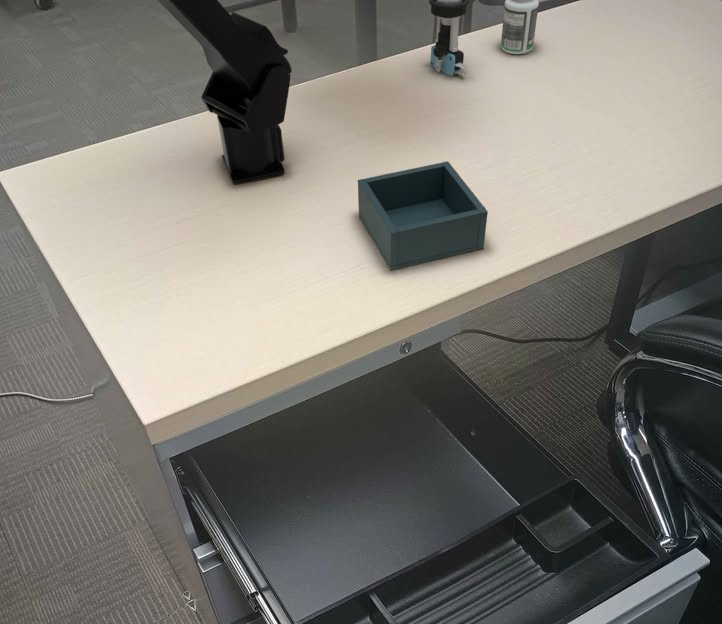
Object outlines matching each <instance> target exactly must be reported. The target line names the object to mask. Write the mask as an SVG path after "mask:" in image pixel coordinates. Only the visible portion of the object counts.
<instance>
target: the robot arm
mask: <svg viewBox="0 0 722 624" xmlns="http://www.w3.org/2000/svg"><path fill="white" fill-rule="evenodd" d="M157 1H158V3H160V4H161V6H162V7H164V8H165V9H166V11H167V12H168V13H170V15H172V17H173V18H174V19H175V20H176V21H177V22H178V23H179V24H180V25H181V26H182V27H183V28H184V29H185V30H186V31H187V32H188V33H189V34H190V35H191V36H192V37H193V38H194V40H196V42H197V43H198V44H199V45H200V46H201V48H202V49H203V53H204V56H205V59H206V63H207V65H208V66H209V68H210V69H211V70H212V72H211V75H210V77H209V79H208V81H207V84H206V85H205V88H204V89H203V92H202V94H201V100H202V102H203V104H204V106H205V108H206V109H207V111H208V112H209V113H211V114H215V115H216V118H217V123H218V130H219V136H220V141H221V145H222V151H223V152H222V153H223V154H222V155H221V159H222V162H223V165H224V167H225V169H226V171H227V174H228V176H229V178H230V181H231V183H232V184H234V185H237V184H243V183H248V182H252V181H257V180H261V179H267V178H273V177H278V176H281V175H284V174H285V173H286V172H285V167H284V165H283V163H284V161H285V151H284V141H283V132H282V128H281V127H280V124H282V123H284V121H285V118H286V110H287V104H288V97H289V91H290V85H291V74H292V72H293V70H292V66H291V64H290V62H289V60H288V58H287V57H286V56H285V55H287V54H288V53H289V50H288V49H287V48H285V47H282V46H281V45H280V44H279V43H278V42H277V40H276V38H275V36H274V35H273V32H272V31H271V30H270V29H269V28H268V27H267V26H266V25H264V24H262V23H260V22H258V21H255V20H253V19H251V18H249V17H246V16H244V15H241V14H239V13H238V12H234V11H232V12H231V13H230V12H228V11H227V9H226V8H225V6H224V5H222V3H221V2H220V1H219V0H157Z"/></svg>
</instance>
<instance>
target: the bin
mask: <svg viewBox="0 0 722 624" xmlns="http://www.w3.org/2000/svg"><path fill="white" fill-rule="evenodd" d="M357 195H358V197H357V199H358V202H357V203H358V218H359V219H360V221H361V223H362V224H363V226H364V227H365V229H366V231H367V233H368V235H369V236H370V237H371V239H372V241H373V243H374V245H375V247H376V248H377V249H378V252H379V253H380V254H381V256H382V258H383V259H384V261H385V263H386V265H387V266H388V268H389V270H390V271H393V270H399V269H404V268H407V267H411V266H415V265H419V264H424V263H428V262H432V261H438V260H441V259H446V258H450V257H455V256H458V255H463V254H467V253H472V252H476V251H481V250H484V248H485V240H486V239H485V238H486V230H487V222H488V214H489V213H488V212H489V211H488V210H487V209H486V207H485V206H484V204H483V203H482V202H481V201H480V200H479V198H478V197H477V196H476V195H475V193H474V192H473V191H472V189H471V188H470V187H469V186H468V185H467V183H466V182H465V181H464V180H463V178H462V177H461V176H460V174H459V173H458V172H457V171H456V169H455V168H454V167H453V166H452V164H451V163H450V162H449V161H448V160H447V161H442V162H437V163H433V164H428V165H423V166H419V167H413V168H408V169H403V170H399V171H394V172H390V173H385V174H380V175H375V176H370V177H366V178H360V179H358V180H357Z"/></svg>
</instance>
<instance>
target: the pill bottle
mask: <svg viewBox="0 0 722 624" xmlns="http://www.w3.org/2000/svg"><path fill="white" fill-rule="evenodd" d="M539 2H540V1H539V0H505V1H504V6H503V7H504V9H503V20H502V29H501V39H500V48H501V50H502V51H503V52H505V53H507V54H511V55H523V54H528V53H529V52H531V51H532V50H533V48H534V44H535V43H534V42H535V36H536V27H537V18H538V13H539V12H538V11H539Z"/></svg>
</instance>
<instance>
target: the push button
mask: <svg viewBox="0 0 722 624" xmlns="http://www.w3.org/2000/svg"><path fill="white" fill-rule="evenodd" d="M469 3H470V0H428V4H429V5H430V14H432V15H433V16H435V17H436V21H437V22H436V39H435V44H434V45H431V46H430V47H431V48H430V61H429V63H430V66H431V67H433V68H434V69H435V71H437V72H438V73H440V72H442V73H444V74H446V75H447V76H449V77H452V76H455V75H457V74H458V75H459V76H460V77H463V76H466V75H467V73H466V72H464V71H463V70H465V69H467V67H468V66H466V65H465V64H464V58H465V54H464V51H462V50H460V49H459V29H460V28H459V27H460V19H461V17H463V16H464V15H466V14H467V6H468V5H469Z"/></svg>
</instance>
